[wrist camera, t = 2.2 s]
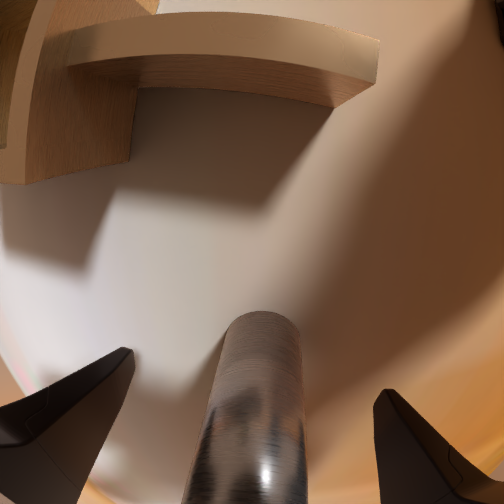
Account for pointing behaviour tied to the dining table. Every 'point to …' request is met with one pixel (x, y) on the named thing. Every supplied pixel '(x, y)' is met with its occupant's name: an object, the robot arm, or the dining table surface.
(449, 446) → the robot arm
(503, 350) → the dining table surface
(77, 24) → the wooden box with arms
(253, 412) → the pin
